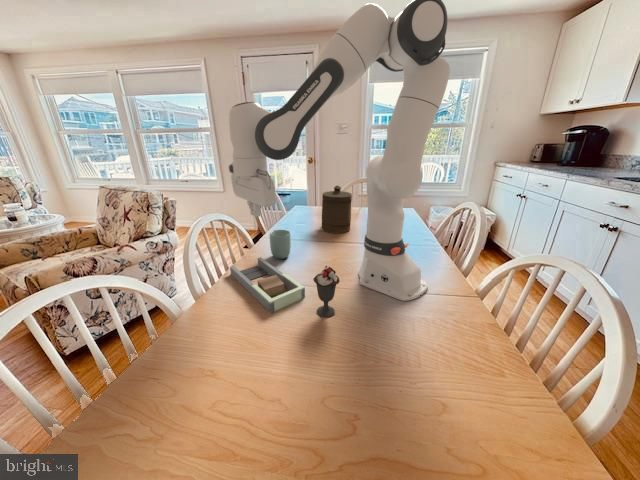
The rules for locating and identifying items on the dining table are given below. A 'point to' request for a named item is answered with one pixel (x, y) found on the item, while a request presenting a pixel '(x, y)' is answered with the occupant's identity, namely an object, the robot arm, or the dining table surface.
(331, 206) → the wooden container
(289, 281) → the box
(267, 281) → the block
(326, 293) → the sundae
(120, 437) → the dining table surface
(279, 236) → the cup
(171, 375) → the dining table surface
